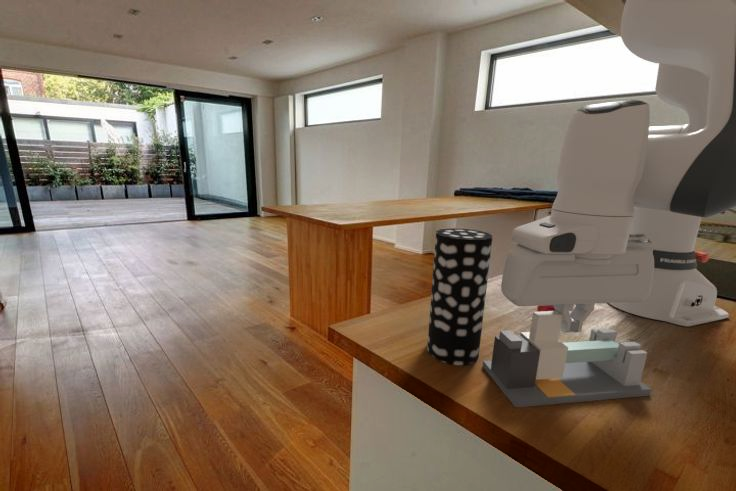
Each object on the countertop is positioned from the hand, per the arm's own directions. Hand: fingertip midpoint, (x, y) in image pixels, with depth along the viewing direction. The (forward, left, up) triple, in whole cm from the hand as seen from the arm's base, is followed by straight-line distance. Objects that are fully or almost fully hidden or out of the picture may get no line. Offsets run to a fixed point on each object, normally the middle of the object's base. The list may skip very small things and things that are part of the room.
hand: (568, 330), depth 47 cm
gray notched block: (-8, 0, -8) cm, 12 cm away
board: (0, 0, -8) cm, 8 cm away
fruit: (-11, -19, -8) cm, 23 cm away
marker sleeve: (+3, 0, -6) cm, 7 cm away
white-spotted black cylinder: (+12, -10, -8) cm, 18 cm away
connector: (+8, 0, -8) cm, 11 cm away
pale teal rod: (0, 0, -5) cm, 5 cm away
